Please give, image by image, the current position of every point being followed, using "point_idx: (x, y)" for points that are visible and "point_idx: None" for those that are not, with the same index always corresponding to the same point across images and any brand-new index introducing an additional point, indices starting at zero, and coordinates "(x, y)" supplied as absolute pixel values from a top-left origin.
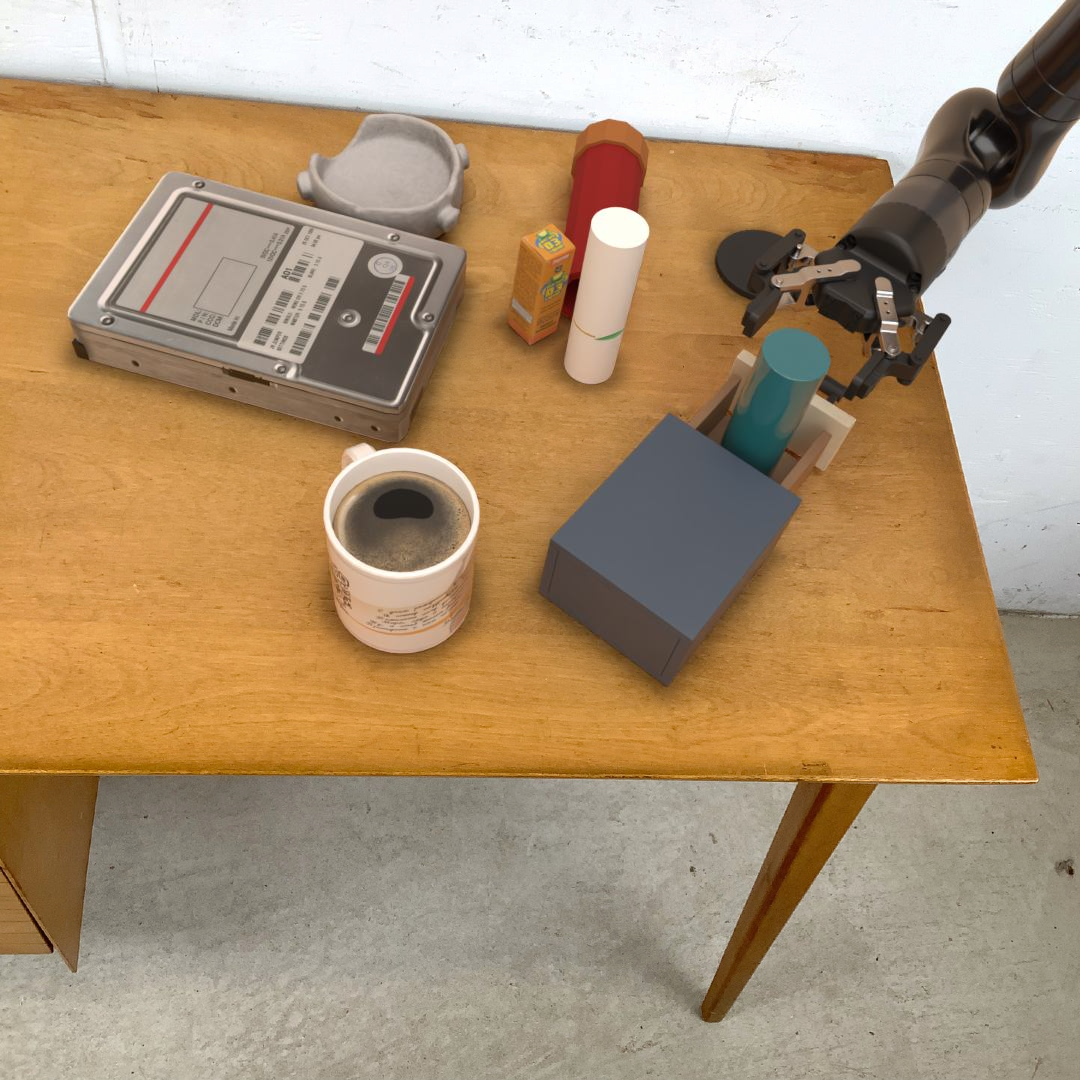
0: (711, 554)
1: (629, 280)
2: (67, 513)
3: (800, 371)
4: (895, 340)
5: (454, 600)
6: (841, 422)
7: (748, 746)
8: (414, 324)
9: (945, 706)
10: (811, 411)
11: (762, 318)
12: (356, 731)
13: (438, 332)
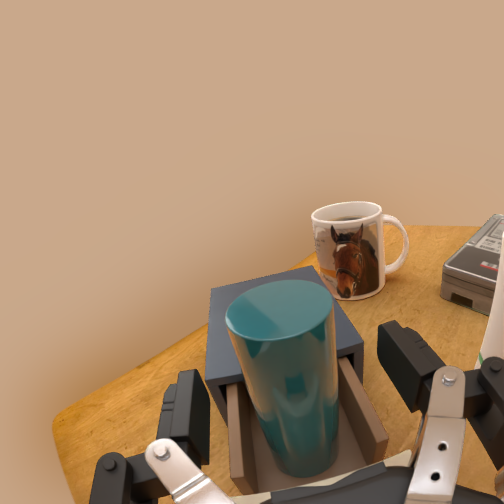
0: None
1: (500, 292)
2: (428, 231)
3: (252, 297)
4: (164, 473)
5: (317, 256)
6: (231, 497)
7: (176, 351)
8: None
9: (86, 425)
10: None
11: (389, 349)
12: (307, 265)
13: None
